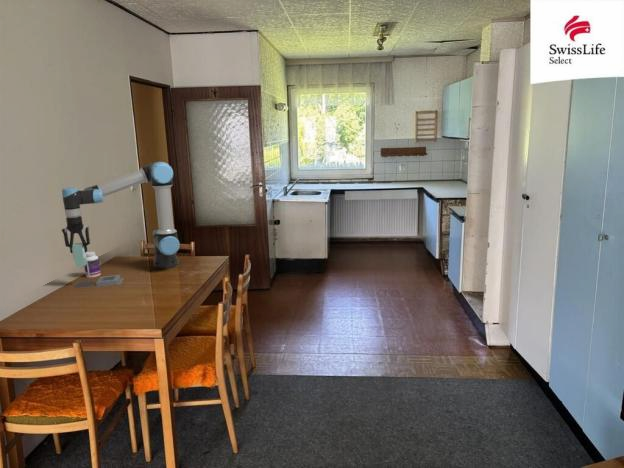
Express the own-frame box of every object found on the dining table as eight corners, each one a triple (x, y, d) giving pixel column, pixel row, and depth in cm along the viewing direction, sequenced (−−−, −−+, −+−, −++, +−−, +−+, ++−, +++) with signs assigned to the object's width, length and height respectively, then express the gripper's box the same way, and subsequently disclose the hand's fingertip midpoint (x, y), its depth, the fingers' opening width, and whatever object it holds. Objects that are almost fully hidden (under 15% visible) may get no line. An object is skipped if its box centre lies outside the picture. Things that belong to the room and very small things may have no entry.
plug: (86, 263, 261) (83, 242, 258) (84, 265, 256) (81, 244, 254) (77, 264, 260) (74, 243, 257) (75, 266, 255) (72, 245, 253)
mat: (95, 282, 266) (95, 281, 266) (91, 287, 257) (91, 286, 257) (78, 283, 264) (77, 282, 264) (73, 288, 255) (73, 287, 255)
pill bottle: (103, 274, 281) (100, 250, 277) (96, 278, 273) (92, 254, 270) (90, 274, 281) (87, 251, 278) (83, 278, 274) (79, 254, 270)
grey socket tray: (123, 279, 269) (123, 274, 268) (120, 285, 258) (119, 280, 257) (97, 282, 266) (97, 276, 265) (93, 288, 255) (92, 282, 255)
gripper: (92, 213, 257) (98, 254, 262) (58, 216, 254) (64, 257, 259) (89, 216, 250) (95, 258, 255) (53, 218, 247) (60, 261, 252)
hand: (80, 258), depth 257 cm, fingers closed on plug, 4 cm apart
